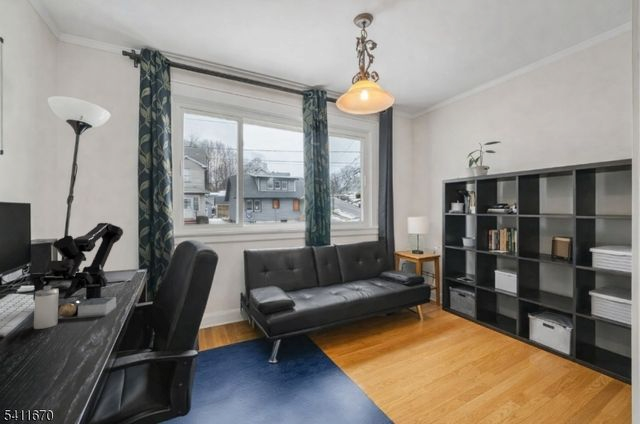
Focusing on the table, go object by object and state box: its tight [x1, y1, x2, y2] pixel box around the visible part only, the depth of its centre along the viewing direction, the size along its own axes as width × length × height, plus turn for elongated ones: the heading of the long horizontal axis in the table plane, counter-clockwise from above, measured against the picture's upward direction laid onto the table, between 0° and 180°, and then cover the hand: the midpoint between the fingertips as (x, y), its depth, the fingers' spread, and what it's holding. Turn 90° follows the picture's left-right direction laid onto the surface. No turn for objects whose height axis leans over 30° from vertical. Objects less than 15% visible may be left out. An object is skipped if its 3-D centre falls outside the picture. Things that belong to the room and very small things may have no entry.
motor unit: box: [58, 296, 117, 321], centre depth 109 cm, size 10×16×6 cm, turn 107°
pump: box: [33, 285, 60, 330], centre depth 97 cm, size 6×6×14 cm
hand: (49, 299), depth 98 cm, fingers open, 9 cm apart
